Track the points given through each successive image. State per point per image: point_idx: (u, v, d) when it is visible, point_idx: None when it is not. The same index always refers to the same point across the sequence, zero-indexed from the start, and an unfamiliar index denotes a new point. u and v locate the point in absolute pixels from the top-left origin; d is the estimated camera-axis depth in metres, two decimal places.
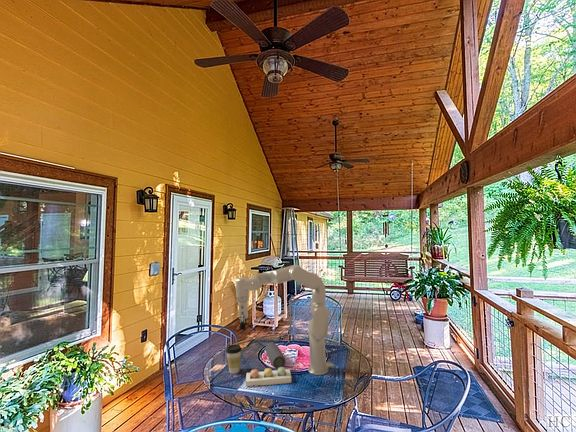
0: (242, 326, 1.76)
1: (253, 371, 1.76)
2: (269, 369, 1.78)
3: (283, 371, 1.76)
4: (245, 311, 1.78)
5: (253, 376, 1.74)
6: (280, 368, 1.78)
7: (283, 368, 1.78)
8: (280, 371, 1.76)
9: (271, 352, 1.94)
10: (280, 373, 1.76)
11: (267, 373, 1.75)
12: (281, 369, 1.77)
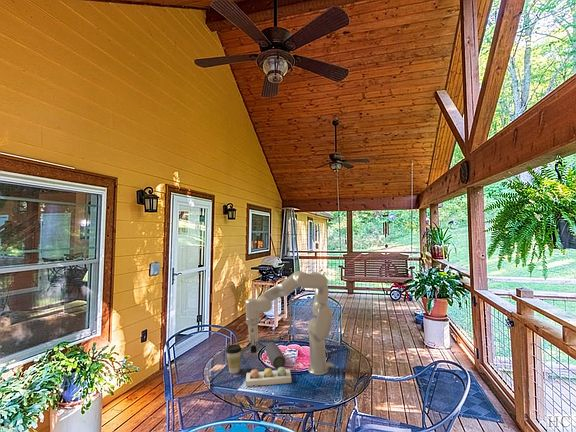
0: (253, 349, 1.75)
1: (253, 371, 1.76)
2: (269, 369, 1.78)
3: (283, 371, 1.76)
4: (255, 334, 1.72)
5: (253, 376, 1.74)
6: (280, 368, 1.78)
7: (283, 368, 1.78)
8: (280, 371, 1.76)
9: (271, 352, 1.94)
10: (280, 373, 1.76)
11: (267, 373, 1.75)
12: (281, 369, 1.77)
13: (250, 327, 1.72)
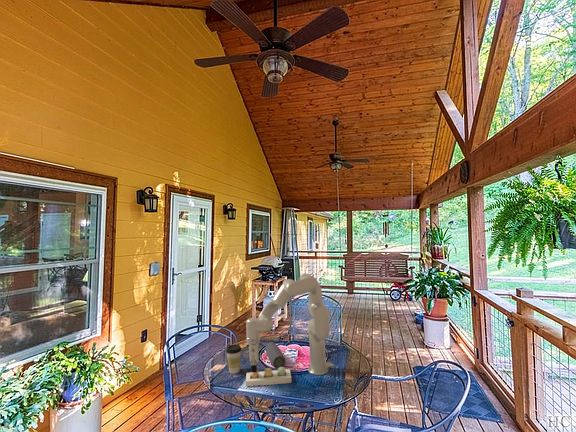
0: (253, 368, 1.75)
1: None
2: (269, 369, 1.78)
3: (283, 371, 1.76)
4: (256, 354, 1.72)
5: (253, 376, 1.74)
6: (280, 368, 1.78)
7: (283, 368, 1.78)
8: (280, 371, 1.76)
9: (271, 352, 1.94)
10: (280, 373, 1.76)
11: (267, 373, 1.75)
12: (281, 369, 1.77)
13: (251, 347, 1.72)
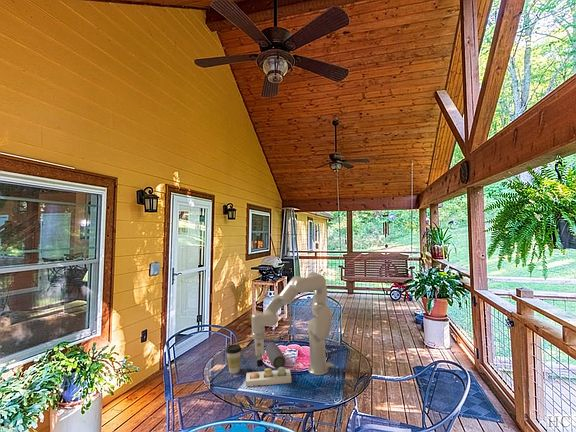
0: (259, 363, 1.75)
1: (253, 374, 1.76)
2: (269, 369, 1.78)
3: (283, 371, 1.76)
4: (262, 348, 1.72)
5: None
6: (280, 368, 1.78)
7: (283, 368, 1.78)
8: (280, 371, 1.76)
9: (271, 352, 1.94)
10: (280, 373, 1.76)
11: (267, 373, 1.75)
12: (281, 369, 1.77)
13: (256, 341, 1.73)
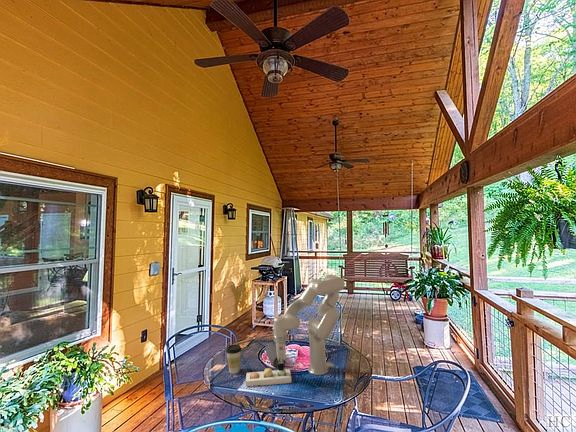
0: (280, 367, 1.76)
1: (253, 374, 1.76)
2: (269, 369, 1.78)
3: (283, 372, 1.76)
4: (284, 352, 1.73)
5: None
6: None
7: None
8: (280, 372, 1.76)
9: (271, 352, 1.94)
10: (280, 374, 1.76)
11: (267, 373, 1.75)
12: (281, 370, 1.77)
13: (278, 345, 1.74)
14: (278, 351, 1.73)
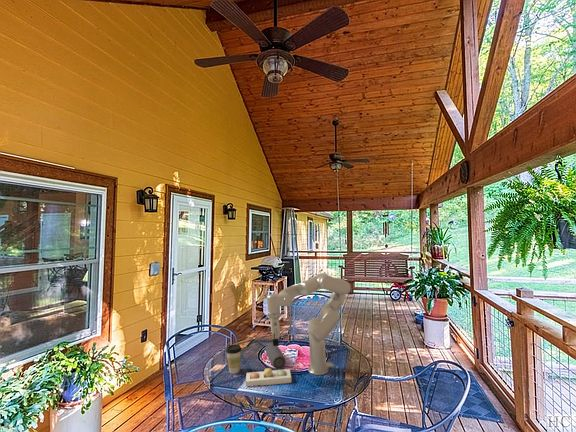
0: (275, 342, 1.80)
1: (253, 374, 1.76)
2: (269, 369, 1.78)
3: (283, 374, 1.76)
4: (278, 328, 1.77)
5: None
6: (280, 371, 1.78)
7: (283, 371, 1.78)
8: (280, 374, 1.76)
9: (271, 352, 1.94)
10: None
11: (267, 373, 1.75)
12: (281, 372, 1.77)
13: (273, 321, 1.77)
14: (272, 327, 1.77)
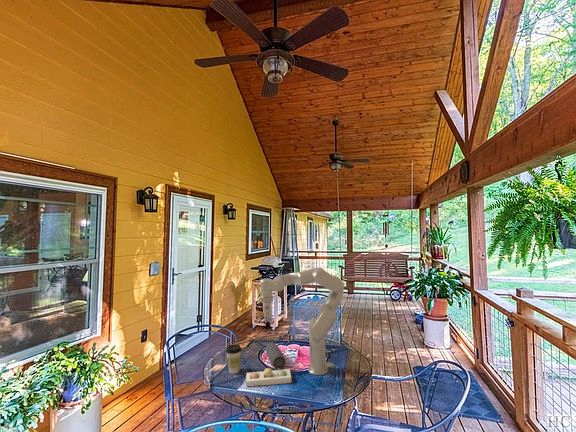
0: (267, 325, 1.85)
1: (253, 374, 1.76)
2: (269, 369, 1.78)
3: (283, 374, 1.76)
4: (270, 311, 1.82)
5: None
6: (280, 371, 1.78)
7: (283, 371, 1.78)
8: (280, 374, 1.76)
9: (271, 352, 1.94)
10: None
11: (267, 373, 1.75)
12: (281, 372, 1.77)
13: (265, 304, 1.82)
14: (264, 310, 1.82)
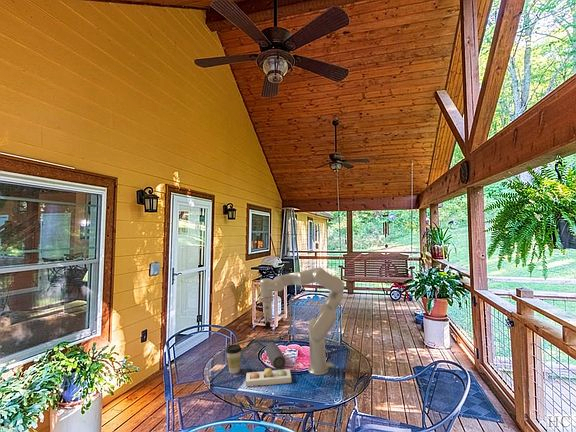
0: (267, 325, 1.85)
1: (253, 374, 1.76)
2: (269, 369, 1.78)
3: (283, 374, 1.76)
4: (270, 311, 1.82)
5: None
6: (280, 371, 1.78)
7: (283, 371, 1.78)
8: (280, 374, 1.76)
9: (271, 352, 1.94)
10: None
11: (267, 373, 1.75)
12: (281, 372, 1.77)
13: (265, 304, 1.82)
14: (264, 310, 1.82)
